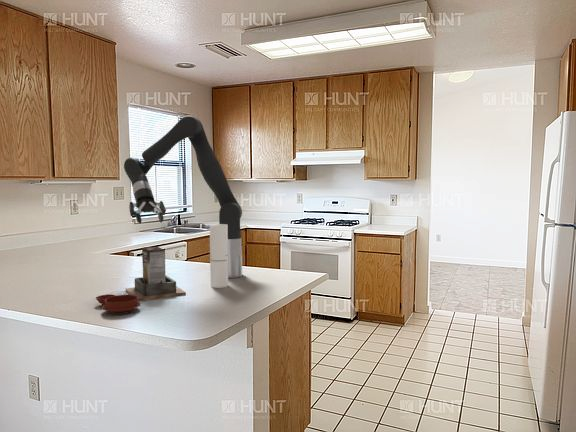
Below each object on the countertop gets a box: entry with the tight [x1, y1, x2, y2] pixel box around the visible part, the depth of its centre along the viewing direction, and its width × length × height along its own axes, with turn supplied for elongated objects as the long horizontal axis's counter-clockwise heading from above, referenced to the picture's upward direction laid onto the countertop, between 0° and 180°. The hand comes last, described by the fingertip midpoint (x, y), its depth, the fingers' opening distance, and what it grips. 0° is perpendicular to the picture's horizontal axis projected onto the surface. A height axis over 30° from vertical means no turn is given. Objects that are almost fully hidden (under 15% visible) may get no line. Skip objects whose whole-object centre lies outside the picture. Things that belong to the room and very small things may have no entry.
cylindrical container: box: [209, 223, 229, 289], centre depth 175 cm, size 7×7×25 cm
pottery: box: [95, 294, 141, 315], centre depth 143 cm, size 12×20×4 cm, turn 48°
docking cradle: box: [125, 274, 187, 302], centre depth 164 cm, size 18×18×5 cm
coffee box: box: [141, 246, 166, 285], centre depth 164 cm, size 9×6×16 cm
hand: (151, 221), depth 178 cm, fingers open, 8 cm apart
